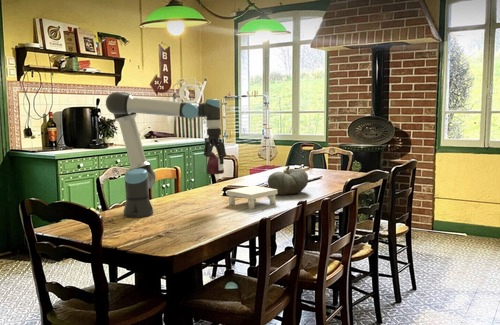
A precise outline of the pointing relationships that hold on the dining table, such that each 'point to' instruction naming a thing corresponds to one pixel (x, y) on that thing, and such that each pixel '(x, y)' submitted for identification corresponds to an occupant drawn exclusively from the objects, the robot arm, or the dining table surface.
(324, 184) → the dining table surface
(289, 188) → the gourd
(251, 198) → the footstool
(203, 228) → the dining table surface
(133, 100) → the robot arm
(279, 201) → the dining table surface
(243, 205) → the dining table surface
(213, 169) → the vegetable
